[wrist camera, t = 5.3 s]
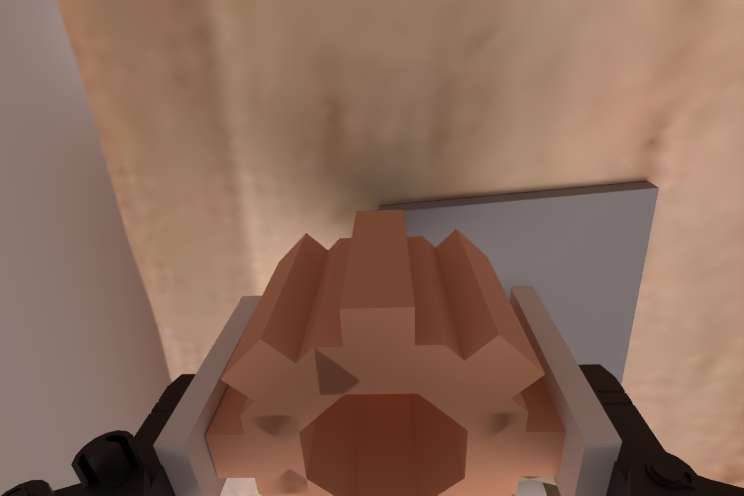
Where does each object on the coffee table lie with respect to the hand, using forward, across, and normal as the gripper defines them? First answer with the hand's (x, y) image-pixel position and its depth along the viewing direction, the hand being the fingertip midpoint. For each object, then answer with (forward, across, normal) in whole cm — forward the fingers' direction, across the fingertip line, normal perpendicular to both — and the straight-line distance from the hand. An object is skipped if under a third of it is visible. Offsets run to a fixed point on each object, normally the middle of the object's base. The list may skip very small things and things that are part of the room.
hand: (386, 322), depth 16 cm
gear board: (+12, +8, -12) cm, 19 cm away
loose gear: (0, 0, 0) cm, 0 cm away
